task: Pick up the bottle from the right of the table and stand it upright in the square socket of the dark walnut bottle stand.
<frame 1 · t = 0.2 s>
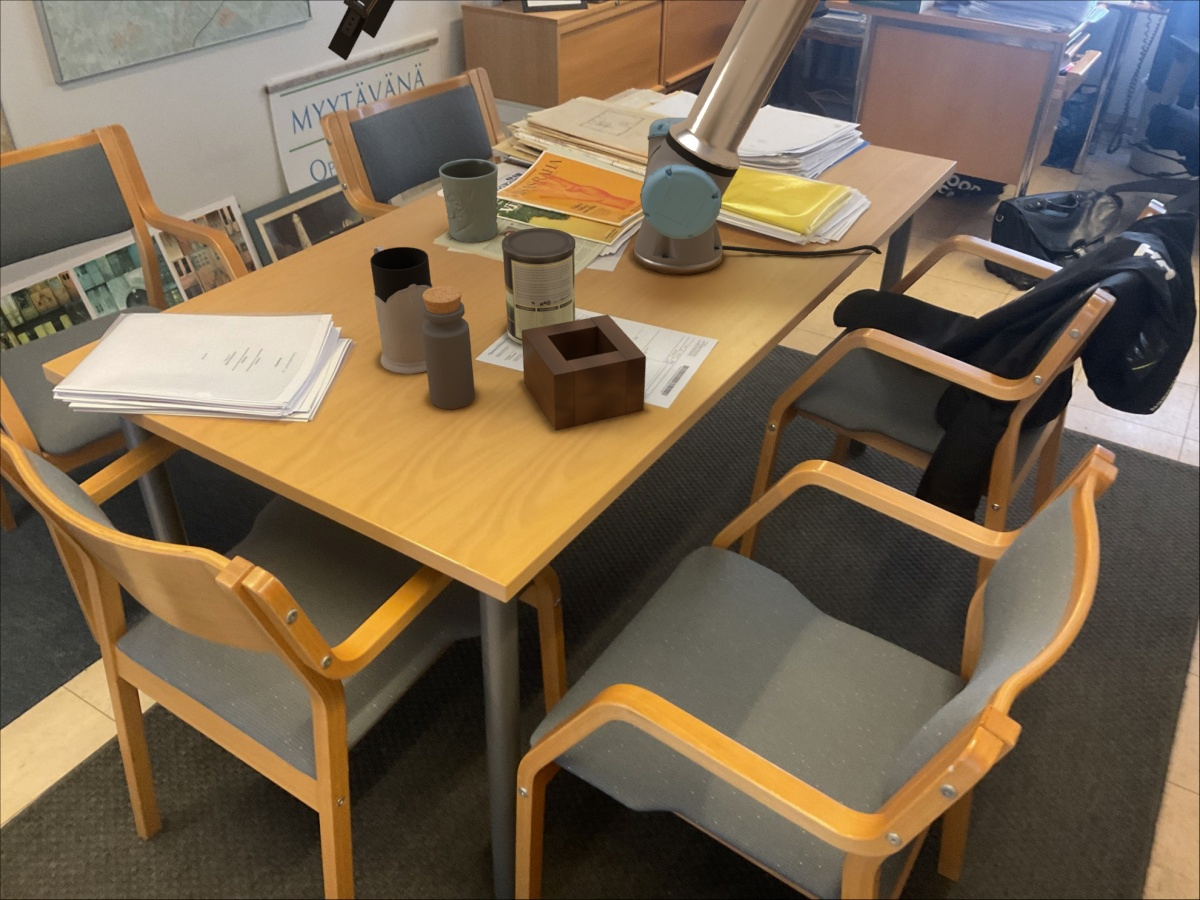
hand: (352, 42, 128), 36 cm above the table, tool tilted 35°, fingers open, 13 cm apart
grey cup: (473, 234, 164), on the table
bottle: (452, 399, 118), on the table
coffee can: (541, 332, 133), on the table
glass holder: (405, 351, 128), on the table
bottle stand: (582, 396, 119), on the table
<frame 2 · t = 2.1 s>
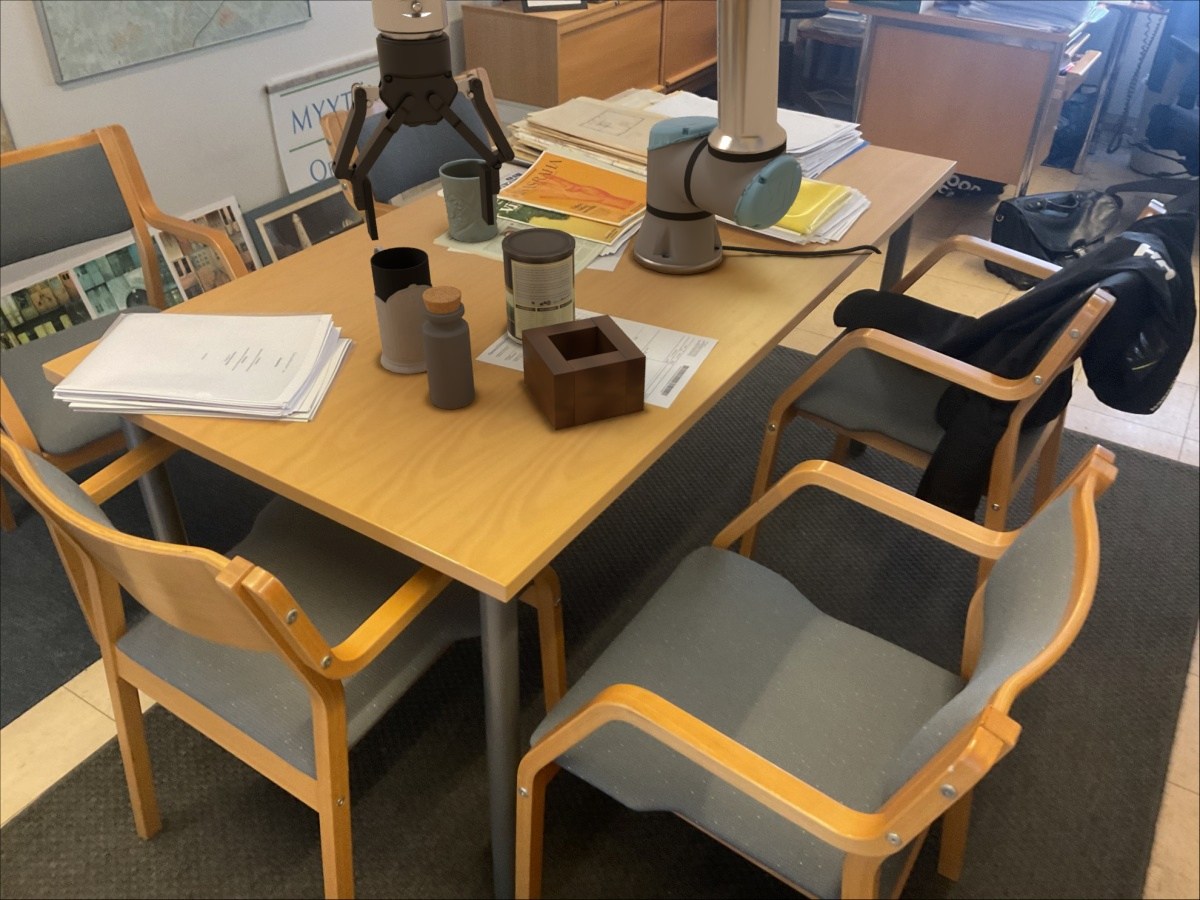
hand: (431, 228, 105), 23 cm above the table, tool pointing down, fingers open, 13 cm apart
nothing on the table moved.
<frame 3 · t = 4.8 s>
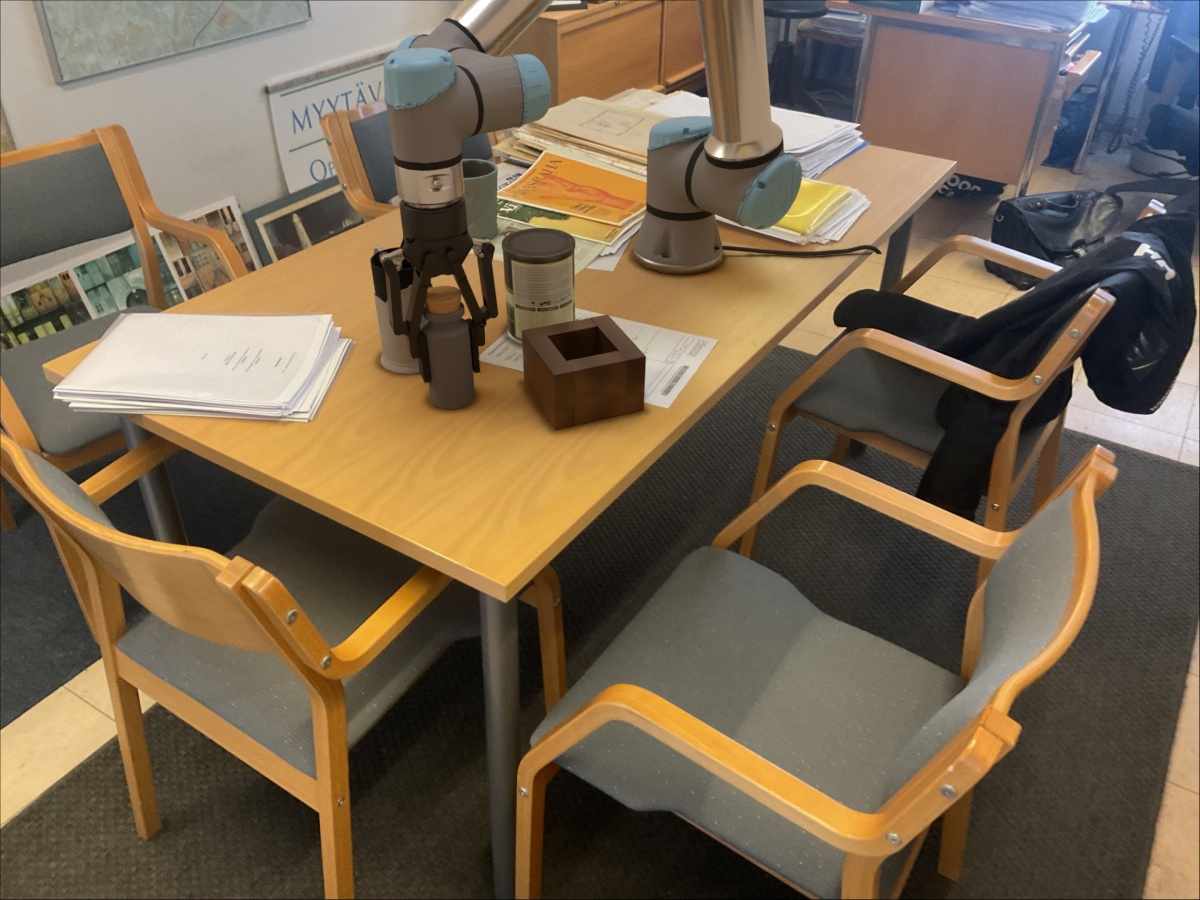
hand: (450, 372, 116), 4 cm above the table, tool pointing down, fingers closed on bottle, 6 cm apart
bottle: (452, 398, 118), on the table, touching gripper
everything else where it was.
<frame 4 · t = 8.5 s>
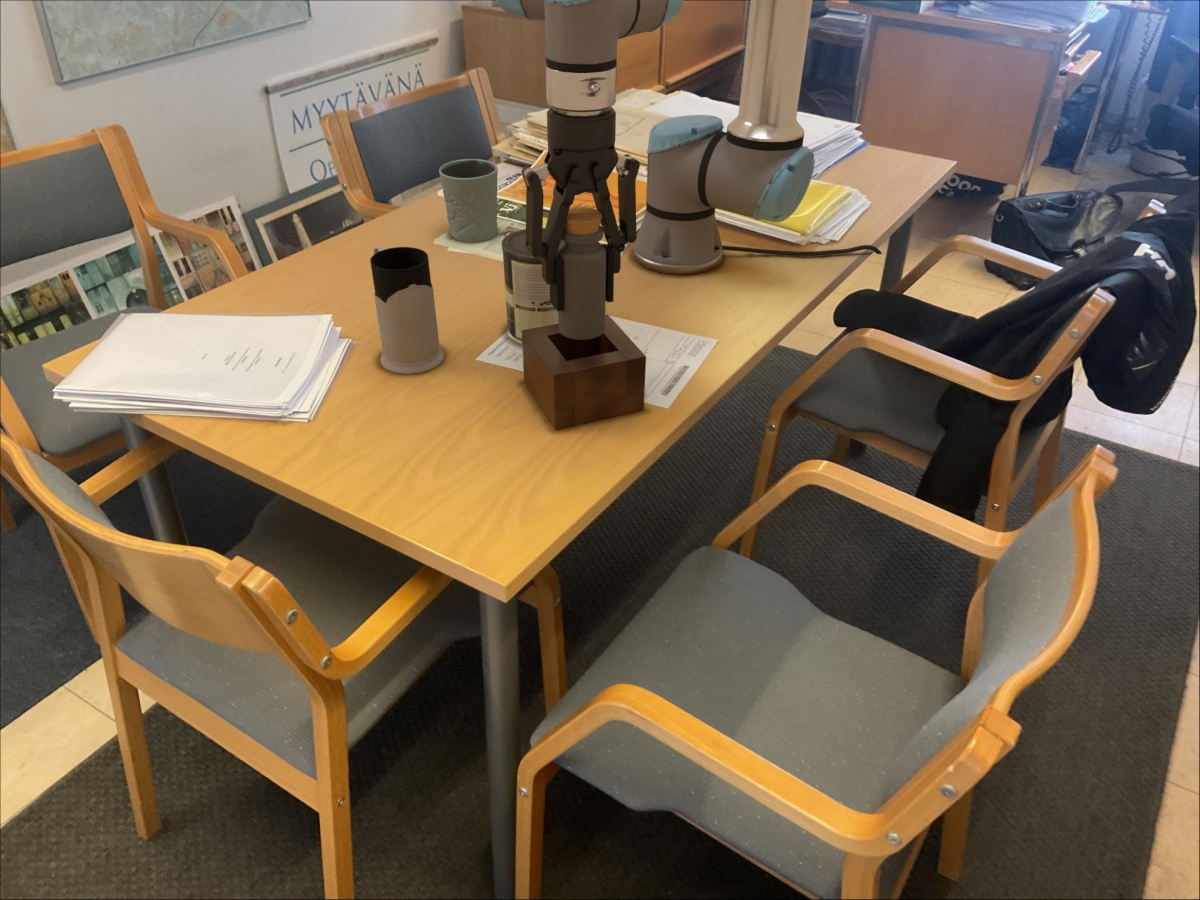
hand: (581, 301, 111), 14 cm above the table, tool pointing down, fingers closed on bottle, 6 cm apart
bottle: (581, 330, 113), point 10 cm above the table, touching gripper
everything else where it was.
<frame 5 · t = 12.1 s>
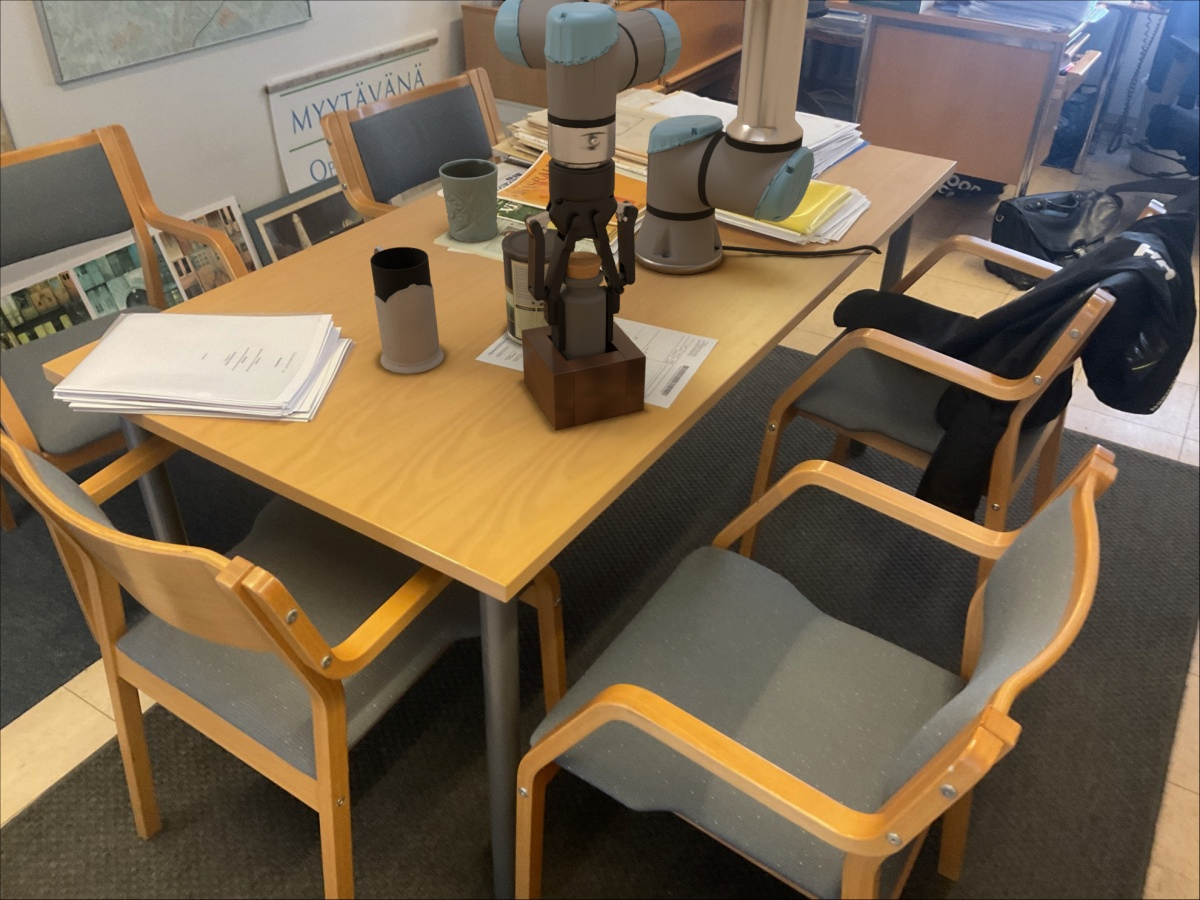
hand: (582, 340, 114), 8 cm above the table, tool pointing down, fingers closed on bottle, 6 cm apart
bottle: (582, 368, 116), point 4 cm above the table, touching gripper
everything else where it was.
when the fingers open (9 cm above the table, at t = 14.7 s): bottle drops 5 cm, resting in bottle stand.
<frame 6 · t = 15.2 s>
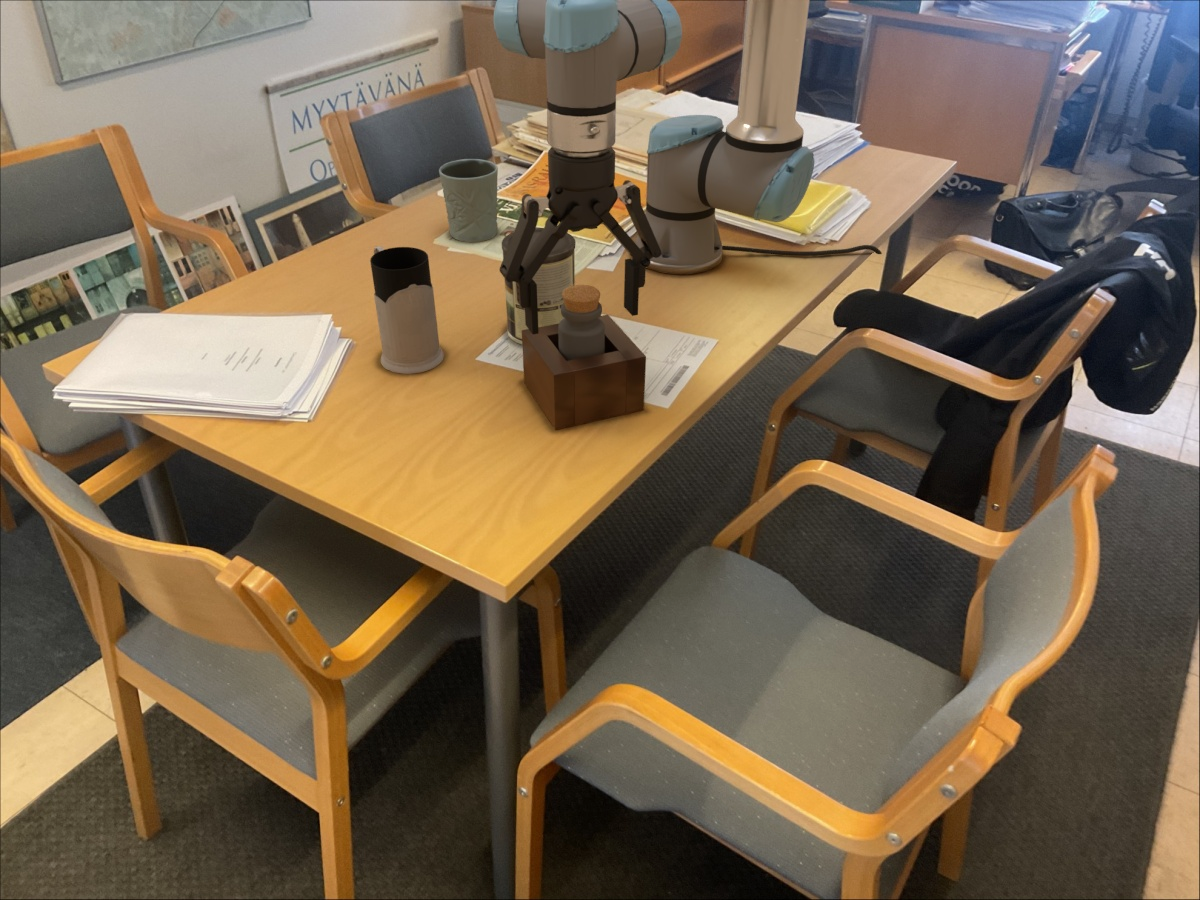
hand: (582, 320, 112), 11 cm above the table, tool pointing down, fingers open, 13 cm apart
bottle: (581, 397, 119), resting in bottle stand
everything else where it was.
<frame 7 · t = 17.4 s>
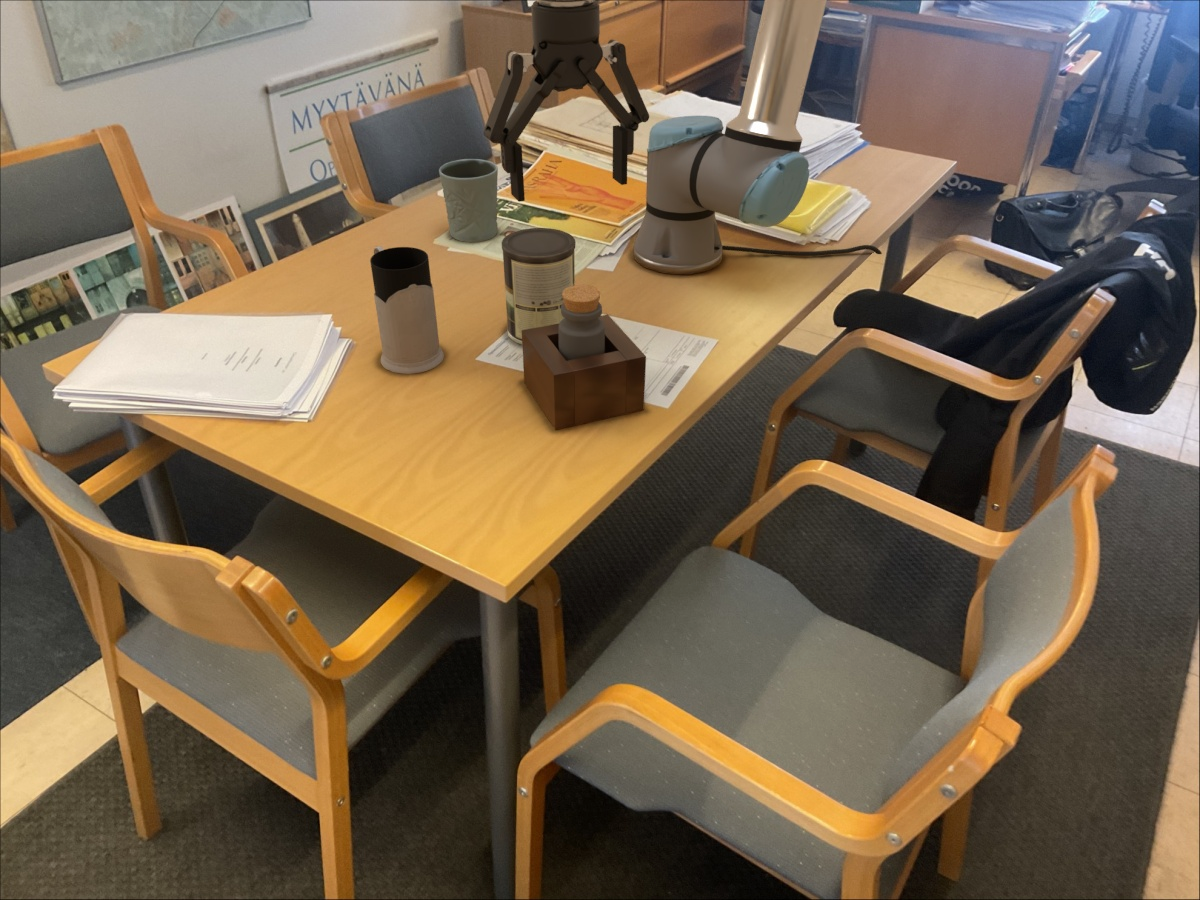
hand: (569, 189, 111), 25 cm above the table, tool pointing down, fingers open, 13 cm apart
nothing on the table moved.
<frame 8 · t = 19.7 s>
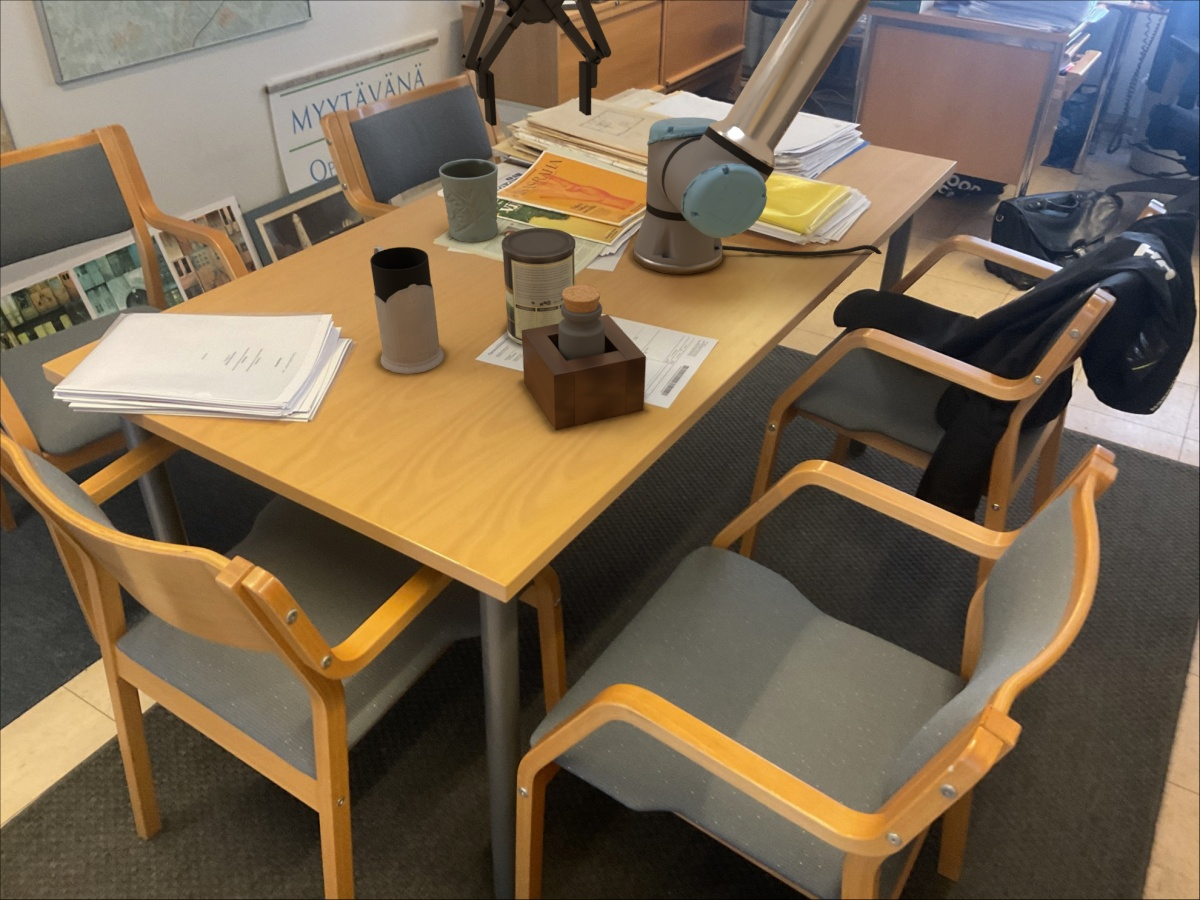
hand: (538, 118, 123), 29 cm above the table, tool pointing down, fingers open, 13 cm apart
nothing on the table moved.
at the end: bottle 0.1 cm off-centre in the bottle stand, point 0.0 cm above the bottle stand's base; bottle tilted 0°; the gripper is holding nothing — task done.
